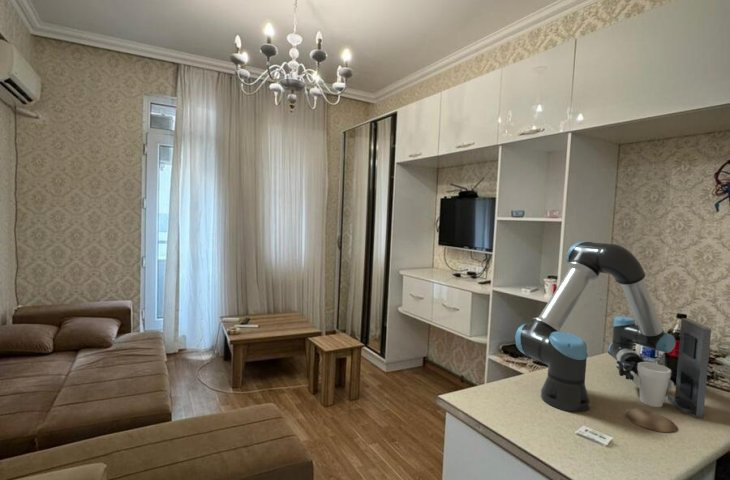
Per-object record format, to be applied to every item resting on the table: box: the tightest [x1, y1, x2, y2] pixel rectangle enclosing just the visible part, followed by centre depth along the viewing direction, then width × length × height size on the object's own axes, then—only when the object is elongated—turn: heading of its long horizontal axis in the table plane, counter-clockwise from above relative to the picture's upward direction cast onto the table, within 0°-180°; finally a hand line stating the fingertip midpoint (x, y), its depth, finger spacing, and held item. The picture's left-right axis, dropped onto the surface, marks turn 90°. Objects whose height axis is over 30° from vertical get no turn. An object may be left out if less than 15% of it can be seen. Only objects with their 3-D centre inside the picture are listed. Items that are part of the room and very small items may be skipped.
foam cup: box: [637, 361, 672, 408], centre depth 134 cm, size 10×9×13 cm
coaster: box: [625, 408, 677, 433], centre depth 121 cm, size 13×13×1 cm
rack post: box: [667, 317, 712, 419], centre depth 130 cm, size 5×14×30 cm, turn 163°
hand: (655, 384), depth 132 cm, fingers closed on foam cup, 9 cm apart
